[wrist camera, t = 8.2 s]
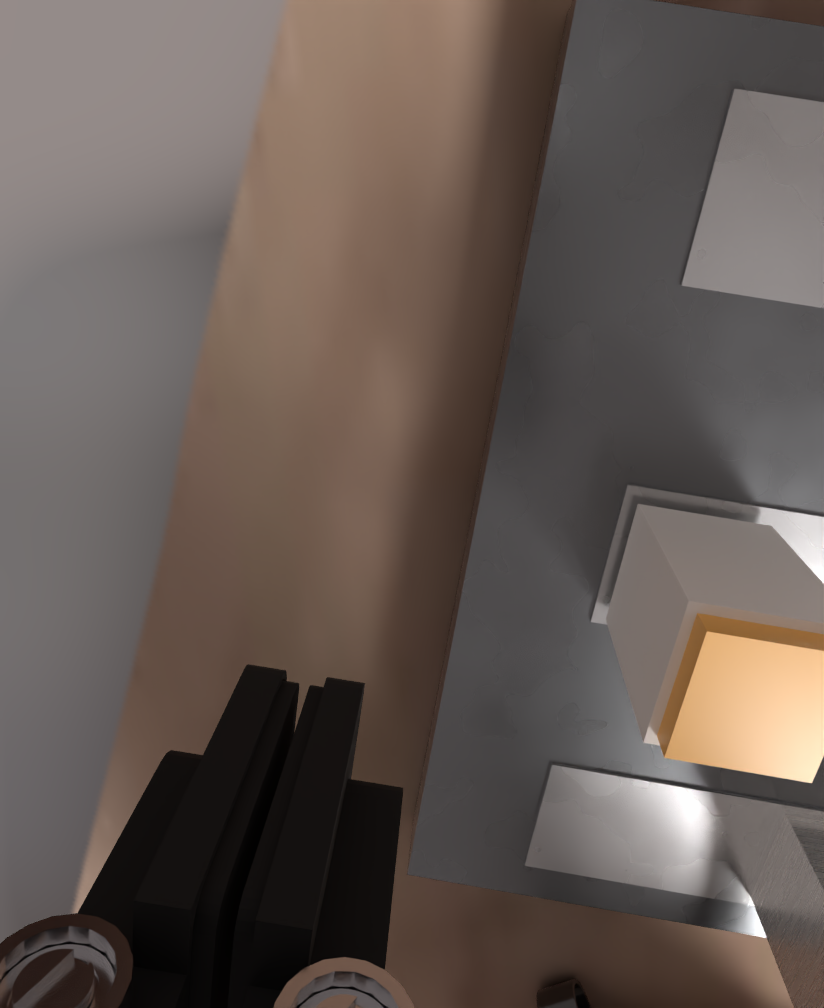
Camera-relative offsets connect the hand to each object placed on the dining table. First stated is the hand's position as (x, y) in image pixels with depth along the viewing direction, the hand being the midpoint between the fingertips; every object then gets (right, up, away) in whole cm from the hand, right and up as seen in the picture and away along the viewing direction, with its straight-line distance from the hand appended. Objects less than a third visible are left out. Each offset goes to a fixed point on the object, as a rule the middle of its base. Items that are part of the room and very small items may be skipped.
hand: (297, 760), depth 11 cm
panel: (+11, +2, +9) cm, 15 cm away
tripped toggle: (+8, +2, +7) cm, 11 cm away
